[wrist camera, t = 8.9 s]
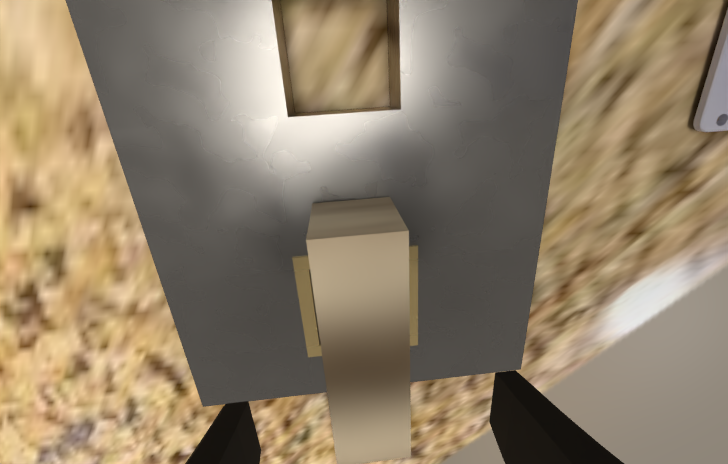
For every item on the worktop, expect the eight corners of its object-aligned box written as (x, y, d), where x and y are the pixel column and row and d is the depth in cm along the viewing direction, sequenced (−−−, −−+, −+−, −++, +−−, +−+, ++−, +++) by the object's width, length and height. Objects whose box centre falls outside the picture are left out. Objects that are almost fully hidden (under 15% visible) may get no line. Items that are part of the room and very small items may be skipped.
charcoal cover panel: (550, -115, 12) (606, -167, 10) (498, 336, 20) (521, 370, 17) (80, -100, 11) (11, -154, 9) (218, 368, 19) (202, 408, 16)
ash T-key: (388, 354, 19) (410, 457, 14) (335, 359, 19) (337, 466, 14) (381, 181, 15) (408, 230, 10) (315, 187, 15) (306, 239, 10)
